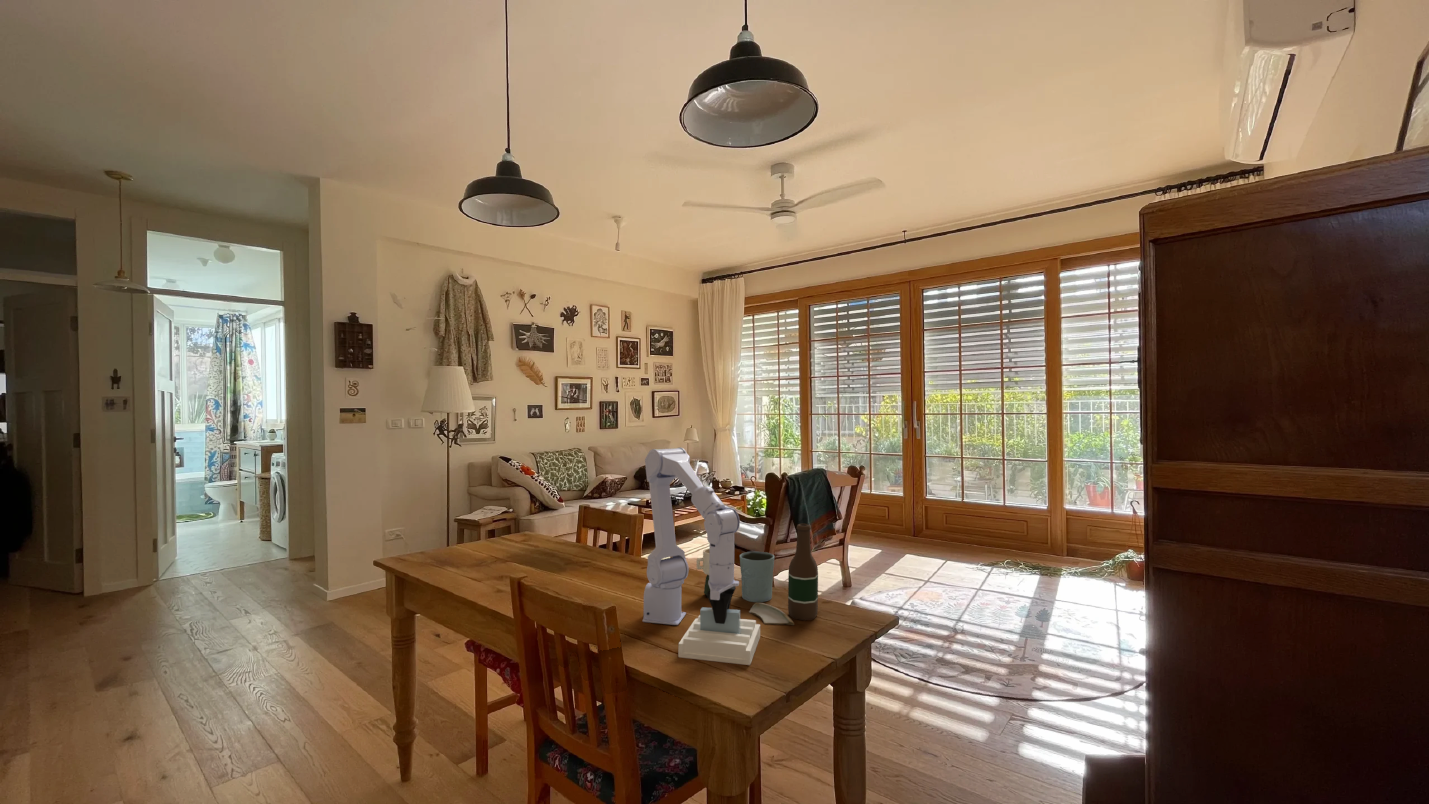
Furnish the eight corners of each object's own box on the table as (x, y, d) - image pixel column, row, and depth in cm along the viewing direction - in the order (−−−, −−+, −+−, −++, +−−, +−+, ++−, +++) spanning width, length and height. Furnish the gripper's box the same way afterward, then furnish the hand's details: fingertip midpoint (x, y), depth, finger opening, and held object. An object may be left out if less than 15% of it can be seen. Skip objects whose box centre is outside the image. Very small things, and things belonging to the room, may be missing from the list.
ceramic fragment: (794, 626, 144) (794, 611, 144) (781, 632, 141) (781, 616, 141) (753, 612, 154) (753, 598, 155) (740, 617, 151) (740, 602, 151)
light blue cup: (748, 605, 158) (749, 561, 158) (733, 593, 167) (733, 552, 167) (780, 600, 162) (781, 558, 162) (763, 589, 172) (764, 549, 171)
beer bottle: (804, 623, 146) (805, 529, 145) (781, 614, 151) (782, 524, 151) (823, 615, 151) (824, 525, 151) (801, 607, 157) (801, 520, 156)
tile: (700, 636, 131) (700, 610, 131) (702, 632, 133) (702, 607, 133) (738, 639, 129) (738, 613, 129) (740, 636, 131) (740, 610, 131)
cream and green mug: (729, 590, 170) (729, 546, 170) (736, 598, 163) (736, 553, 163) (693, 593, 168) (694, 548, 168) (698, 601, 161) (699, 555, 161)
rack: (678, 657, 126) (678, 639, 126) (695, 630, 140) (695, 614, 140) (750, 665, 122) (750, 646, 122) (760, 636, 137) (760, 620, 137)
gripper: (732, 572, 123) (732, 635, 123) (744, 554, 137) (743, 611, 138) (701, 569, 125) (700, 631, 125) (715, 552, 139) (715, 608, 139)
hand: (721, 620), depth 131 cm, fingers closed on tile, 2 cm apart
